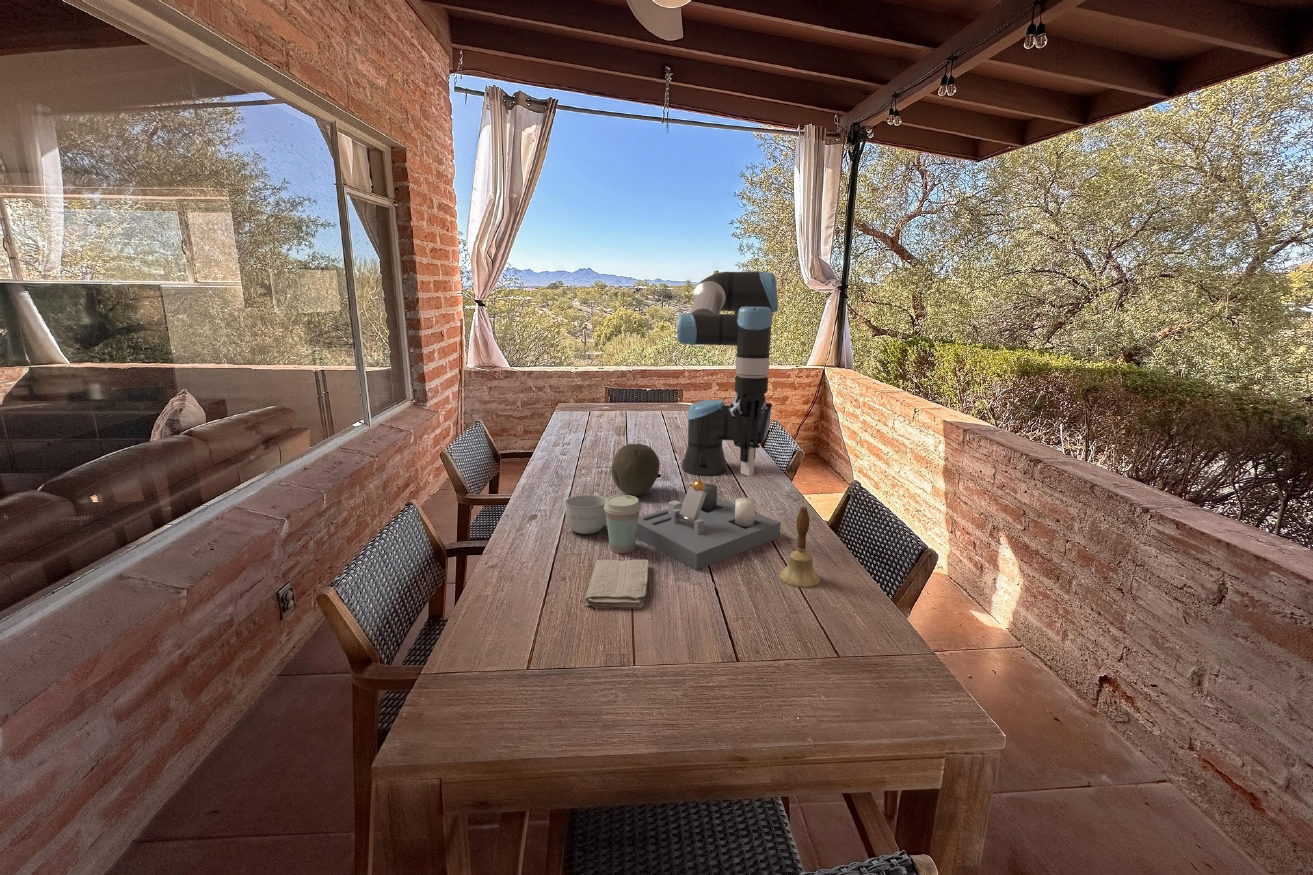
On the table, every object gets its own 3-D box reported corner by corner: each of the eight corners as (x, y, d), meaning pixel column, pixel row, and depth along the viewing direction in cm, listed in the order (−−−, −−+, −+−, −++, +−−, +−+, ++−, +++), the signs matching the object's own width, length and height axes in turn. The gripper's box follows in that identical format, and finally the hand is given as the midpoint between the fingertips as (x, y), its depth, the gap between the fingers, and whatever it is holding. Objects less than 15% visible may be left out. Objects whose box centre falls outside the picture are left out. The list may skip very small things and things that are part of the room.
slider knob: (675, 511, 148) (675, 500, 147) (681, 514, 146) (681, 502, 146) (668, 513, 147) (668, 502, 146) (674, 516, 145) (674, 505, 144)
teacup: (556, 532, 145) (555, 502, 143) (582, 518, 154) (581, 489, 152) (603, 544, 138) (603, 512, 136) (627, 528, 148) (627, 498, 146)
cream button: (743, 517, 145) (744, 496, 144) (758, 523, 141) (759, 501, 140) (730, 521, 142) (731, 500, 141) (745, 528, 138) (746, 506, 137)
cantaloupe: (658, 502, 166) (659, 451, 162) (609, 501, 166) (609, 451, 162) (659, 486, 179) (660, 439, 176) (614, 485, 180) (613, 438, 176)
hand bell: (791, 590, 118) (796, 517, 114) (772, 571, 126) (777, 502, 122) (827, 585, 120) (834, 513, 116) (807, 567, 128) (812, 499, 124)
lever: (681, 518, 141) (695, 478, 142) (699, 526, 137) (714, 485, 137) (673, 516, 140) (688, 476, 140) (691, 524, 135) (706, 482, 135)
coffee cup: (636, 557, 131) (636, 508, 128) (599, 554, 133) (599, 505, 130) (644, 542, 140) (644, 495, 137) (610, 538, 141) (609, 492, 138)
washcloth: (584, 611, 111) (583, 596, 110) (594, 567, 128) (594, 554, 127) (646, 612, 110) (646, 597, 110) (648, 568, 128) (648, 555, 127)
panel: (711, 509, 161) (712, 485, 159) (779, 537, 143) (781, 510, 141) (630, 534, 144) (630, 508, 142) (696, 570, 126) (697, 540, 124)
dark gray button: (707, 502, 155) (708, 482, 153) (720, 507, 151) (721, 487, 150) (694, 506, 152) (695, 486, 150) (707, 512, 148) (707, 491, 147)
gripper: (758, 371, 139) (753, 465, 145) (719, 375, 131) (716, 475, 137) (783, 375, 134) (776, 472, 139) (744, 379, 126) (739, 483, 131)
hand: (746, 473), depth 138 cm, fingers closed
